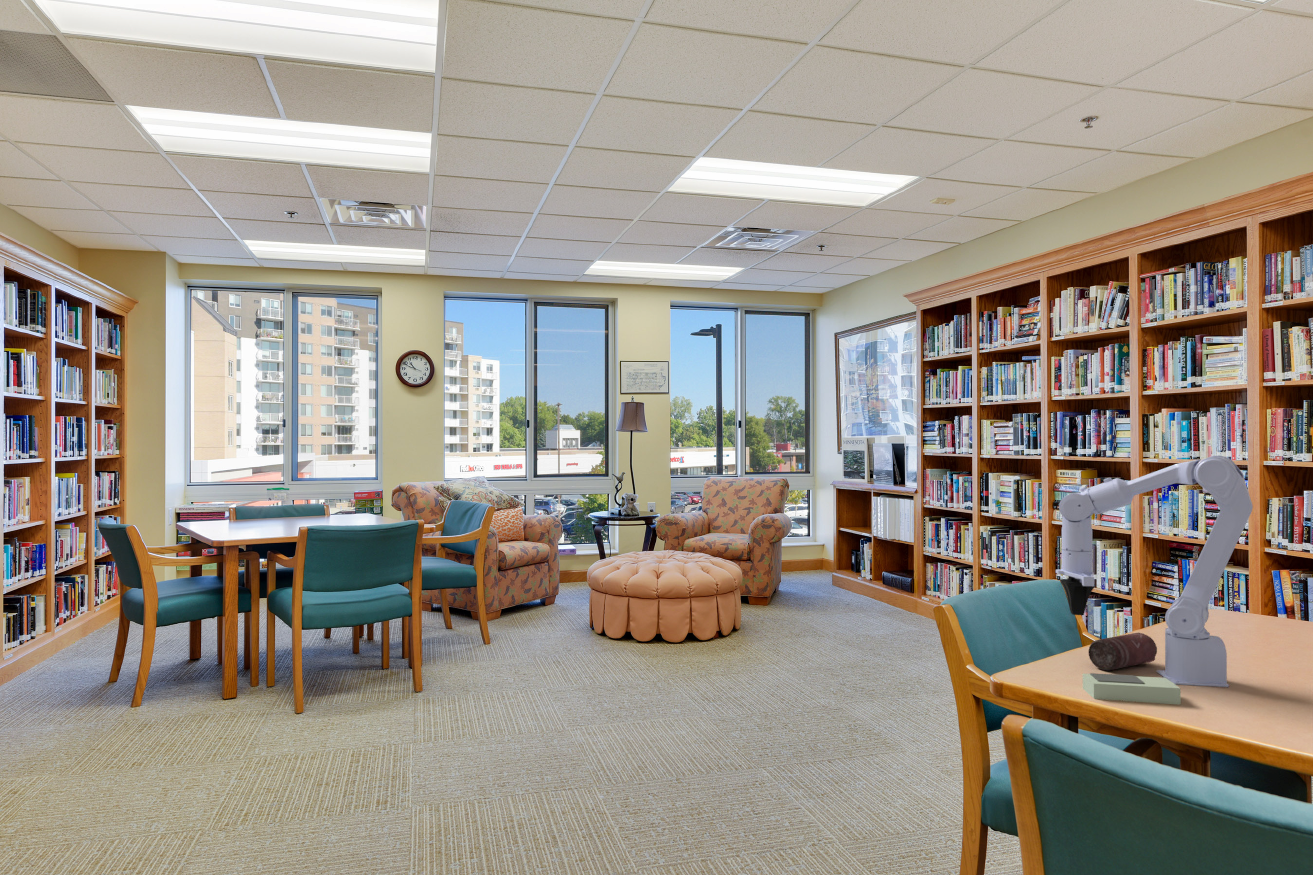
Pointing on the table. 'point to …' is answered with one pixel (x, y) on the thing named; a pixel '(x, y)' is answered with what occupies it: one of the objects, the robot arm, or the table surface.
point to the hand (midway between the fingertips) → (1077, 614)
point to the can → (1122, 651)
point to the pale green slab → (1131, 688)
